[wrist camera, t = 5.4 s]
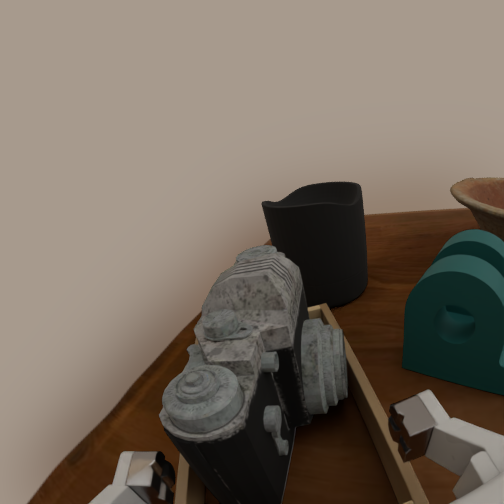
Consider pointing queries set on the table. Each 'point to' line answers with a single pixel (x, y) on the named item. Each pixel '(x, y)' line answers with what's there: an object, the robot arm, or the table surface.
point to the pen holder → (323, 239)
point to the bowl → (483, 202)
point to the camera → (253, 379)
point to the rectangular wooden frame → (374, 416)
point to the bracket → (459, 314)
